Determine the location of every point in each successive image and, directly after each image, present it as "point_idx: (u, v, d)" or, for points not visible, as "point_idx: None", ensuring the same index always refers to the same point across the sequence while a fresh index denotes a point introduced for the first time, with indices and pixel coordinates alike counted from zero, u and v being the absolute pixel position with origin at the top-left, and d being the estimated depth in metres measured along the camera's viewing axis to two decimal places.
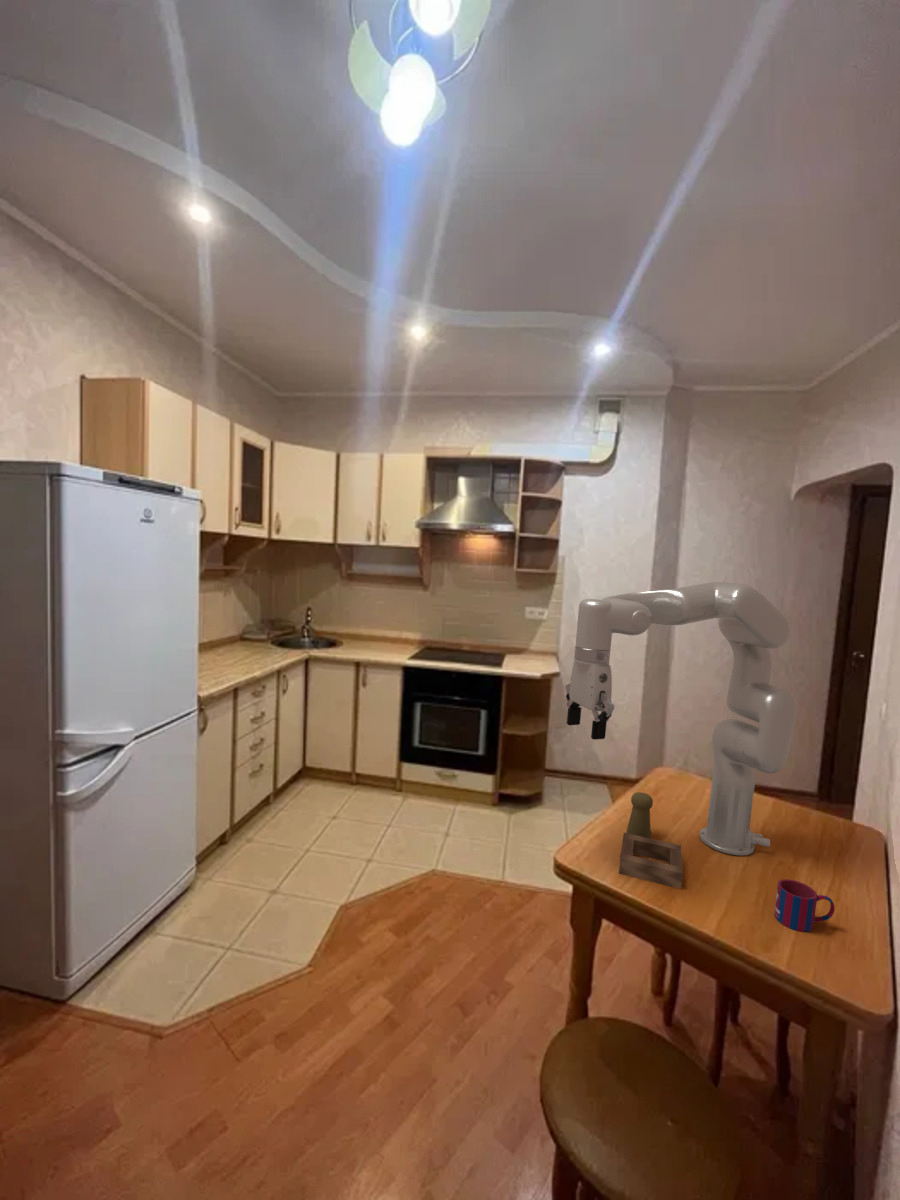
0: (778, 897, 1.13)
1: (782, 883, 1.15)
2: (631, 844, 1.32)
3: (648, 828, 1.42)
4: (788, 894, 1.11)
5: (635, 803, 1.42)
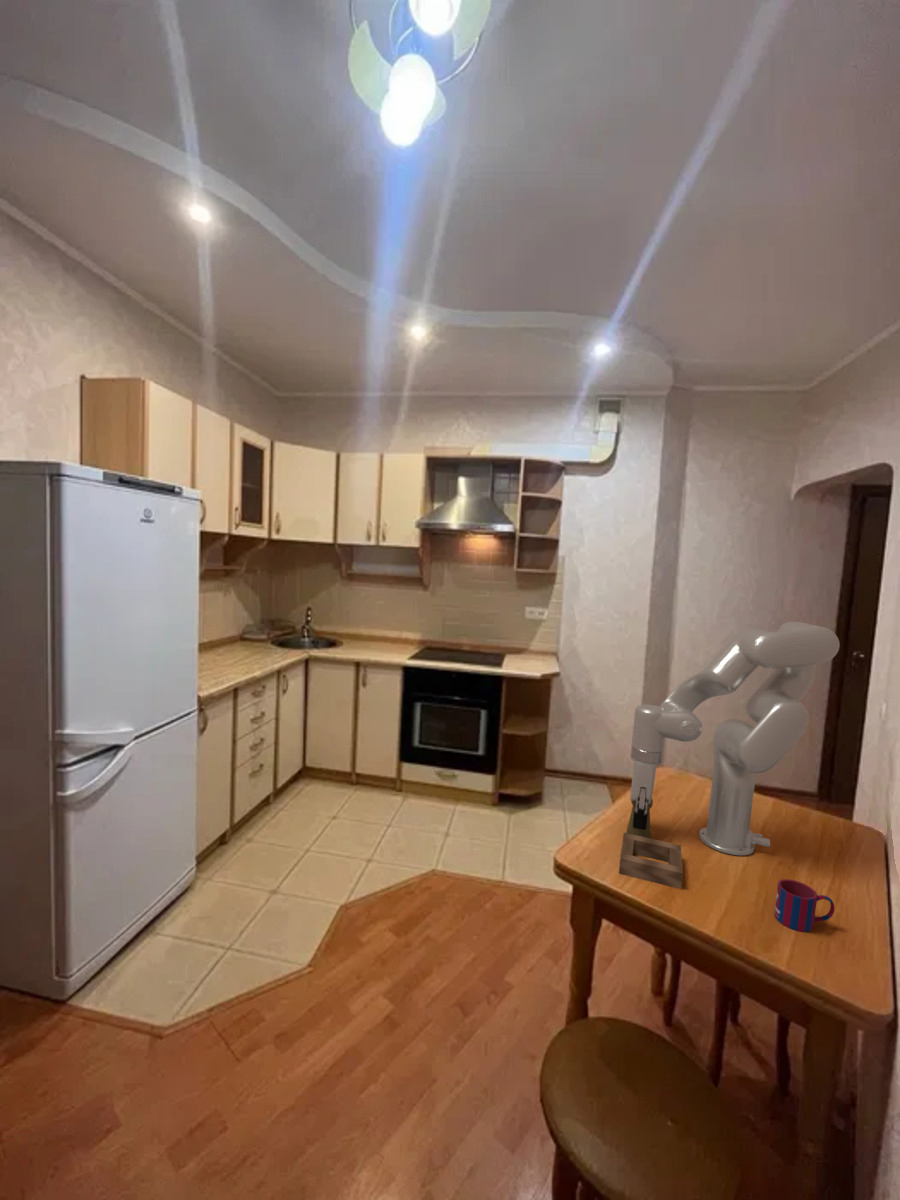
0: (778, 897, 1.13)
1: (782, 883, 1.15)
2: (631, 844, 1.32)
3: (648, 828, 1.42)
4: (788, 894, 1.11)
5: (635, 803, 1.42)
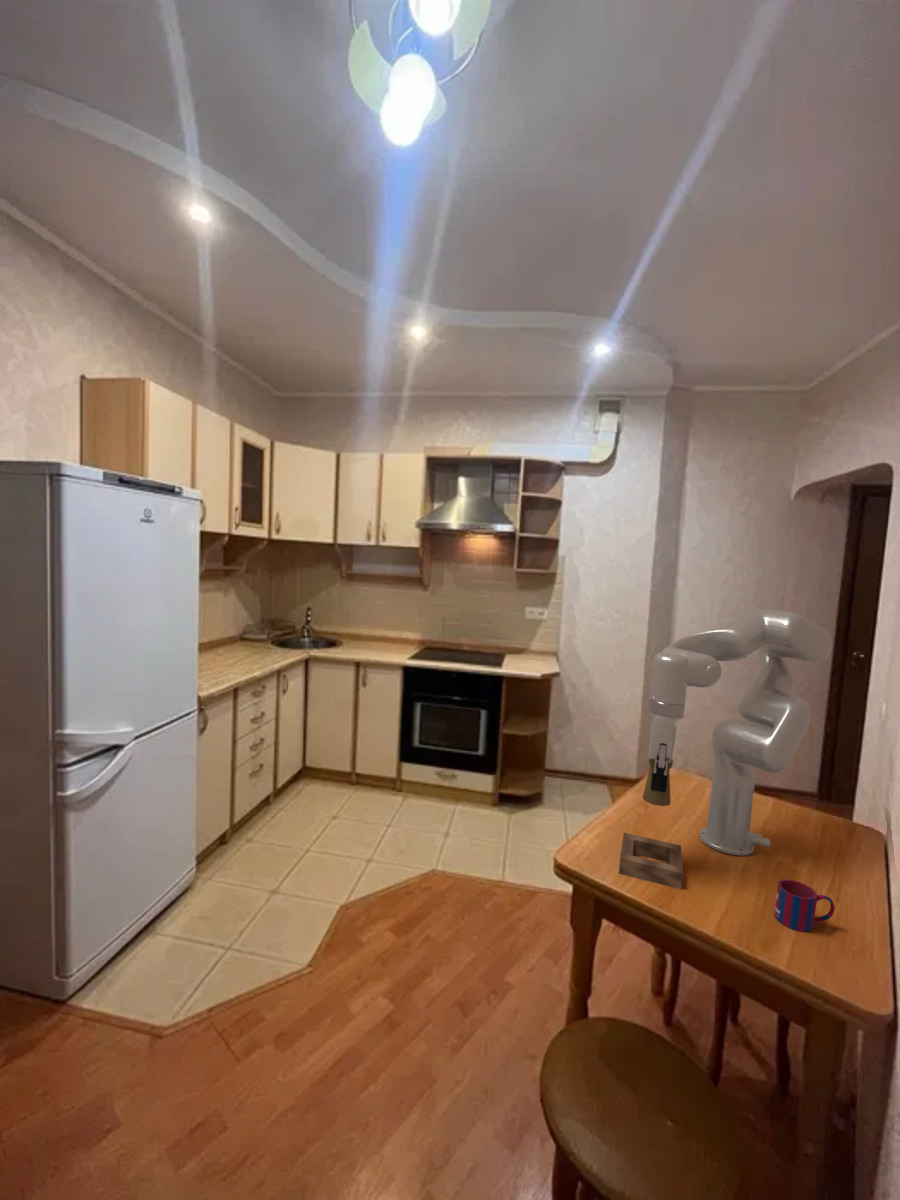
0: (778, 897, 1.13)
1: (782, 883, 1.15)
2: (631, 844, 1.32)
3: (668, 790, 1.26)
4: (788, 894, 1.11)
5: (653, 763, 1.26)
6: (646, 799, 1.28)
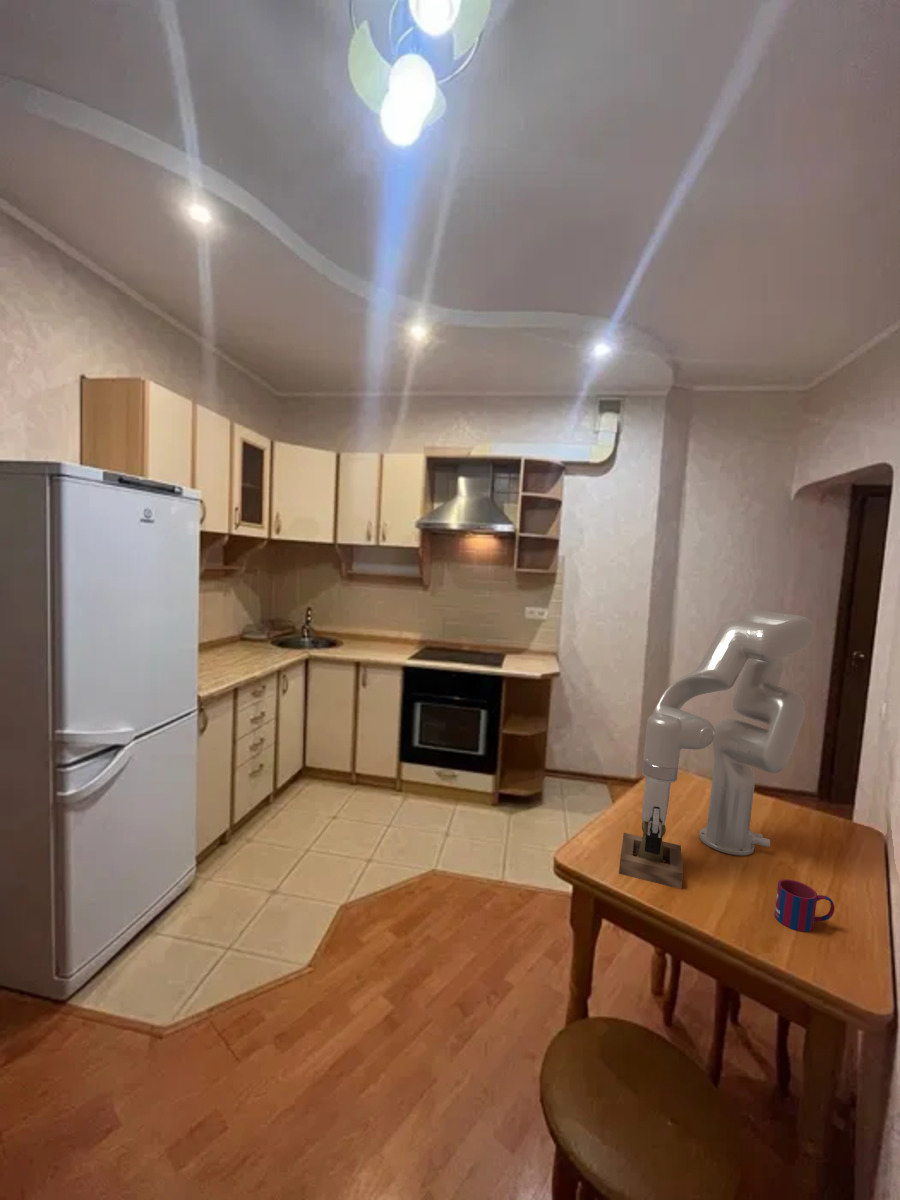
0: (778, 897, 1.13)
1: (782, 883, 1.15)
2: (631, 844, 1.32)
3: (661, 858, 1.28)
4: (788, 894, 1.11)
5: (647, 830, 1.28)
6: None
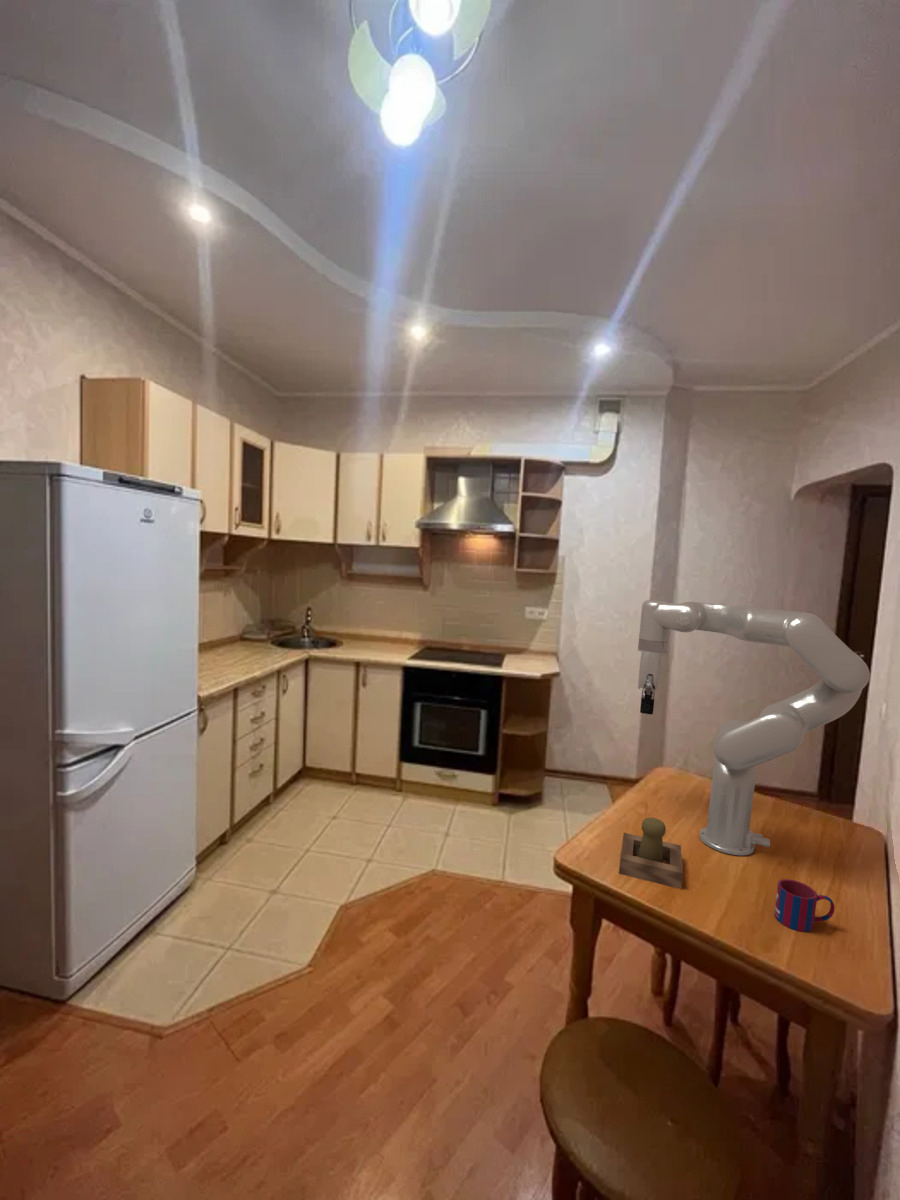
0: (778, 897, 1.13)
1: (782, 883, 1.15)
2: (631, 844, 1.32)
3: (661, 858, 1.28)
4: (788, 894, 1.11)
5: (647, 830, 1.28)
6: None
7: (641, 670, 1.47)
